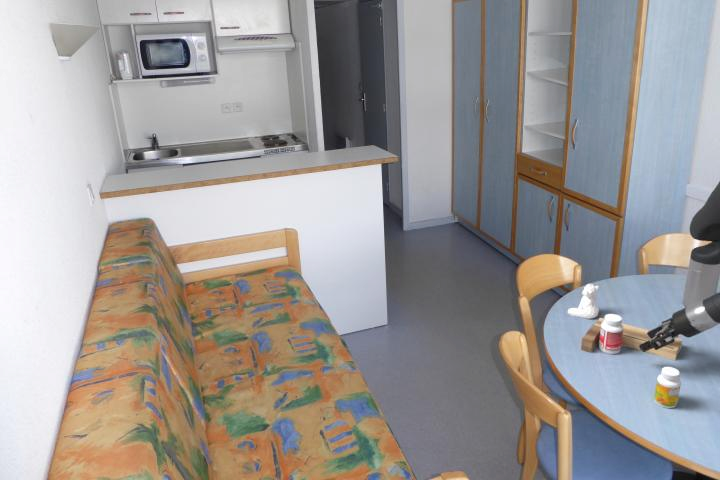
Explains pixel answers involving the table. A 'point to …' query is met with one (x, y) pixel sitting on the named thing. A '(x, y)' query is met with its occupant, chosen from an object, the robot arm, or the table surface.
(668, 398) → the supplement bottle
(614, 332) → the pill bottle
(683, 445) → the table surface
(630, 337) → the wooden l-shaped block
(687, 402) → the table surface
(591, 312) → the seated beast figurine
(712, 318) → the robot arm
